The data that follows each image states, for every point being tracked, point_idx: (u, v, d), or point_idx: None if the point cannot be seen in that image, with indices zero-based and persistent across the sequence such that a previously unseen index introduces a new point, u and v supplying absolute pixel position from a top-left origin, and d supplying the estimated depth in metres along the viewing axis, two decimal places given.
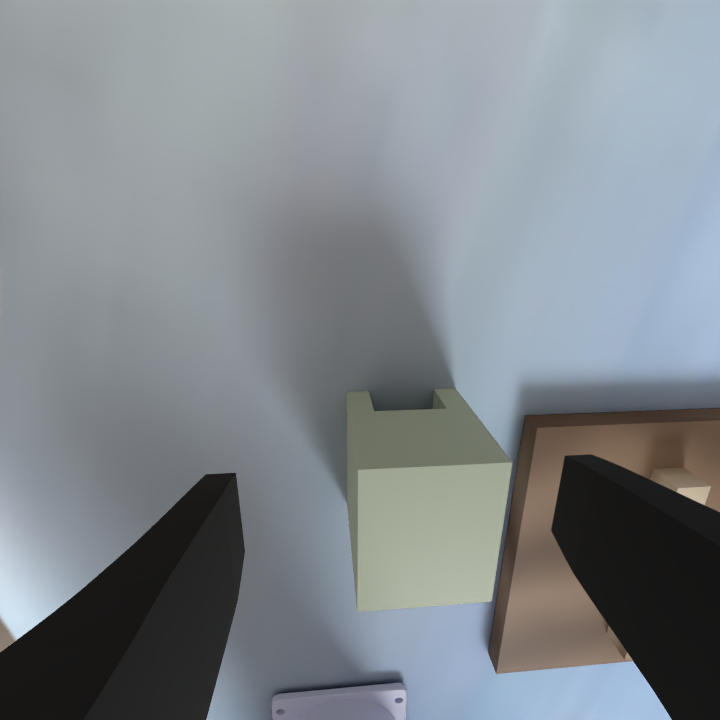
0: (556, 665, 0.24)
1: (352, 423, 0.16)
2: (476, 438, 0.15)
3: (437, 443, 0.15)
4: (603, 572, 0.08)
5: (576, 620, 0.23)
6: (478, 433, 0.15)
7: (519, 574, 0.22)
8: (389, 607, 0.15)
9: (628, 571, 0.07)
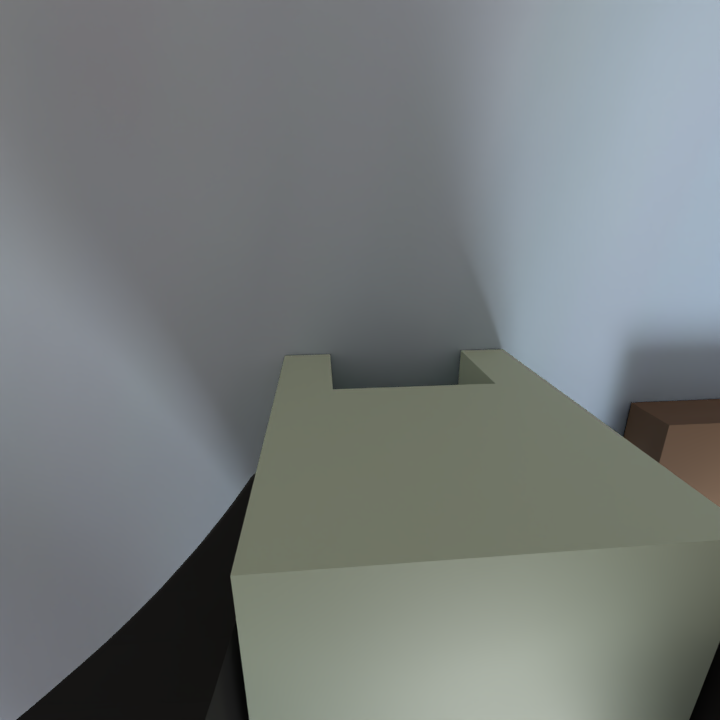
0: None
1: (272, 416, 0.06)
2: (597, 452, 0.05)
3: (493, 468, 0.05)
4: None
5: None
6: (593, 439, 0.06)
7: None
8: None
9: None
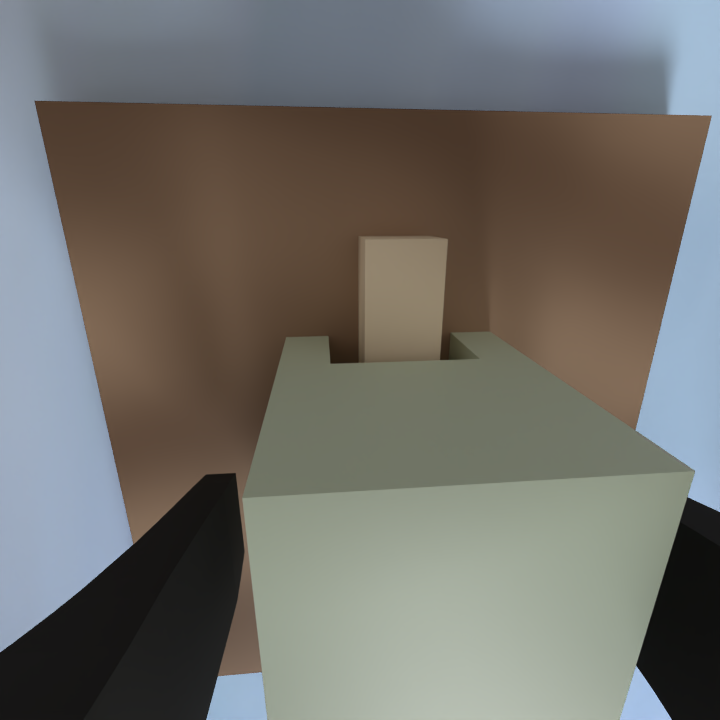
0: None
1: (276, 384, 0.07)
2: (564, 410, 0.06)
3: (470, 423, 0.06)
4: None
5: None
6: (564, 400, 0.06)
7: (134, 481, 0.11)
8: None
9: None
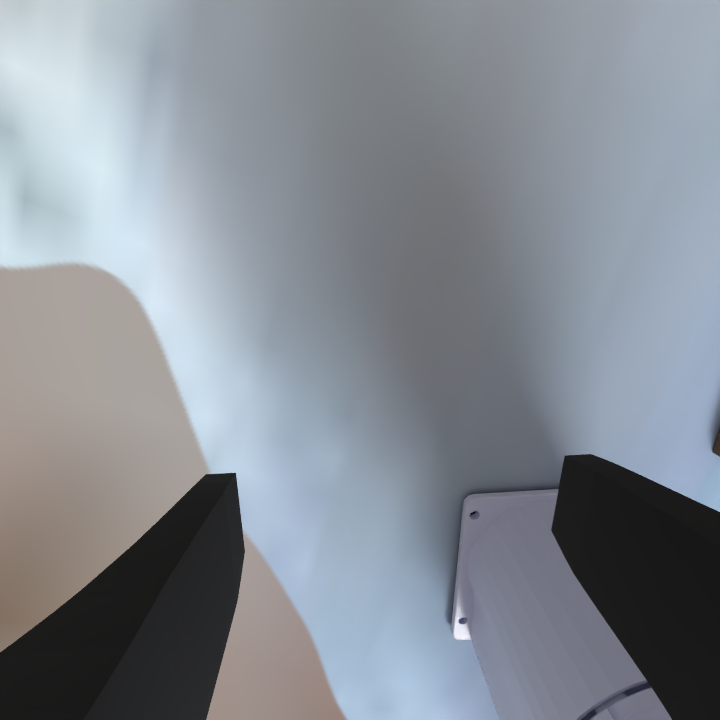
0: None
1: None
2: None
3: None
4: (603, 572, 0.08)
5: None
6: None
7: None
8: None
9: (628, 571, 0.07)
